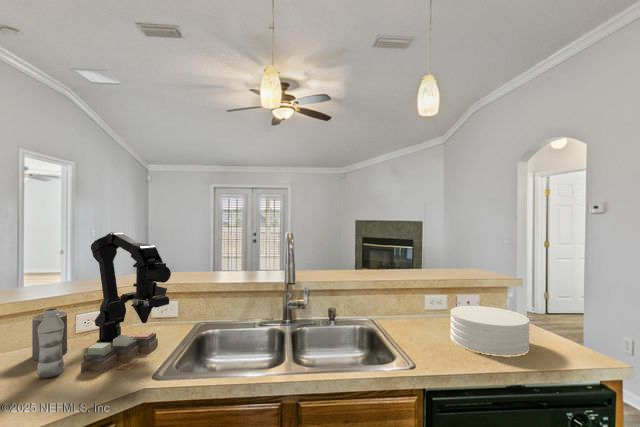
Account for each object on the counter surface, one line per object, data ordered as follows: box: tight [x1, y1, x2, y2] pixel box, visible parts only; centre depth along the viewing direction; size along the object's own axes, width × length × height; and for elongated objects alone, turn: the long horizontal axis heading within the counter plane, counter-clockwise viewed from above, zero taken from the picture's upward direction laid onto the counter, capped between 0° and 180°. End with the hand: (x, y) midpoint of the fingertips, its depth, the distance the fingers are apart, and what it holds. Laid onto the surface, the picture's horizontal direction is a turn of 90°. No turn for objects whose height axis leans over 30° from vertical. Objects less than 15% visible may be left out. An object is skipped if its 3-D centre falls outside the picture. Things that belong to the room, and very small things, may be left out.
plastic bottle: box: [36, 307, 65, 379], centre depth 106 cm, size 6×7×20 cm
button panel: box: [80, 332, 159, 373], centre depth 120 cm, size 14×22×5 cm, turn 1°
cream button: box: [112, 334, 134, 346], centre depth 120 cm, size 4×4×2 cm
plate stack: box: [449, 305, 531, 355], centre depth 139 cm, size 28×28×12 cm
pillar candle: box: [31, 311, 68, 361], centre depth 122 cm, size 10×10×15 cm
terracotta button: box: [134, 331, 154, 338], centre depth 128 cm, size 4×4×2 cm
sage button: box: [87, 342, 112, 355], centre depth 112 cm, size 4×4×2 cm
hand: (144, 323), depth 128 cm, fingers closed
